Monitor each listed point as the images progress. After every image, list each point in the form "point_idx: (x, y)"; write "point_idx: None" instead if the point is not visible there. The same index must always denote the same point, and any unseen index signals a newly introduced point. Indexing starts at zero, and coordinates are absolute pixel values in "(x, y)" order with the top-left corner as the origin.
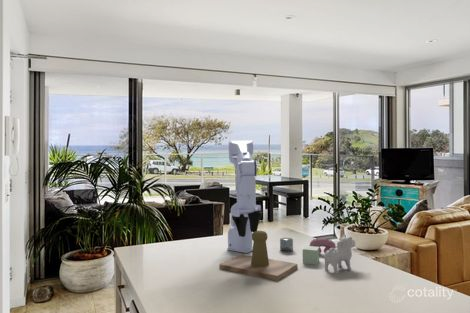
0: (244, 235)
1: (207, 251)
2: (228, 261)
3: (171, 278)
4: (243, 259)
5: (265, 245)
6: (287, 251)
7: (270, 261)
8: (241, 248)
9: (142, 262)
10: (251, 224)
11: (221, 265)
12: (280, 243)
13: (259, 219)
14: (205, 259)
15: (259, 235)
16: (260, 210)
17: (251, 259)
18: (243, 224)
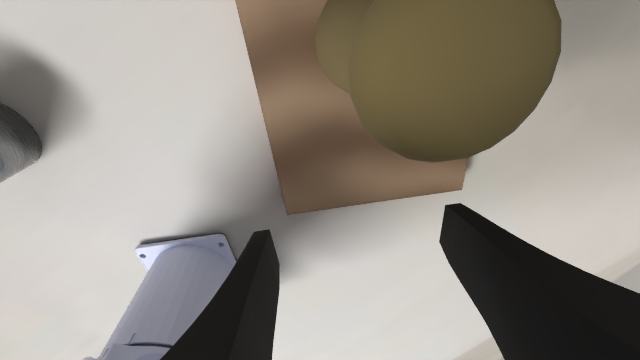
0: (464, 207)
1: (309, 317)
2: (412, 187)
3: (600, 217)
4: (350, 161)
5: None
6: (8, 110)
7: (286, 20)
8: (223, 265)
9: (489, 339)
10: (269, 321)
11: (461, 178)
12: (3, 174)
13: (195, 338)
14: (383, 272)
15: (556, 9)
16: None
17: (327, 132)
18: (600, 285)
